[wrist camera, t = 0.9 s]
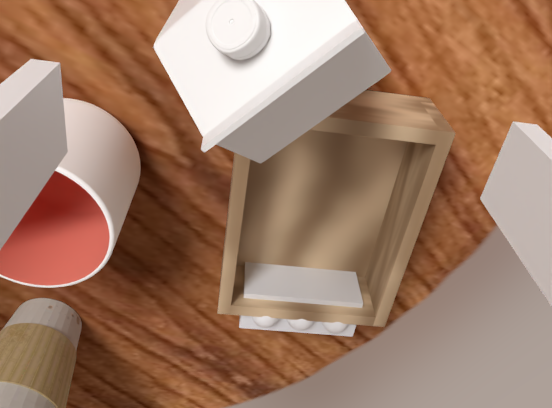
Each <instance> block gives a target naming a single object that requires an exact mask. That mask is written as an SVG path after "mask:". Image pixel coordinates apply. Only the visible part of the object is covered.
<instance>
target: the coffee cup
mask: <svg viewBox="0 0 552 408" xmlns="http://www.w3.org/2000/svg"><path fill="white" fill-rule="evenodd" d="M81 328H82V322H81V319H80V317H79V315H78V314H77V313H76V312H75V310H74V309H72V308H71V307H70V306H68V305H66V304H65V303H62V302H60V301H57V300H53V299H48V298H37V299H31V300H29V301H26V302H24V303H23V304H22V305H21V306H19V308H18V309H17V310H16V312H15V313H14V314H13V316H12V317H11V318H10V320H9V321H8V323H7V324H6V325H5V327H4V328H3V329H2V330H1V331H0V408H66V404H67V399H68V395H69V390H70V386H71V381H72V376H73V372H74V367H75V363H76V358H77V356H76V350H77V346H78V341H79V337H80V333H81Z"/></svg>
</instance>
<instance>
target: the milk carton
mask: <svg viewBox="0 0 552 408" xmlns="http://www.w3.org/2000/svg"><path fill="white" fill-rule="evenodd" d="M154 49H155V51H156V53H157V55H158V57H159V58H160V60H161V62H162V64H163V66H164V68H165V69H166V71H167V73H168V75H169V77H170V78H171V80H172V82H173V84H174V86H175V87H176V89H177V91H178V93H179V95H180V96H181V98H182V100H183V102H184V104H185V106H186V107H187V109H188V111H189V113H190V115H191V116H192V118H193V120H194V122H195V124H196V125H197V127H198V129H199V131H200V133H201V134H202V136H203V141H202V146H201V150H202V151H203V152H206V151H207V150H209V149H210V148H211V147H213V146H214V145H215V144H216V145H219V146H221V147H223V148H226V149H228V150H230V151H232V152H235V153H237V154H239V155H242V156H244V157H246V158H249V159H251V160H253V161H255V162H258V163H262V162H264V161H266V160H267V159H269V158H270V157H271V156H273V155H274V154H276V153H277V152H279V151H280V150H281V149H283V148H284V147H286V146H287V145H288V144H290V143H291V142H293V141H294V140H296V139H297V138H298V137H300V136H301V135H303V134H304V133H305V132H307V131H308V130H310V129H311V128H313V127H314V126H315V125H317V124H318V123H320V122H321V121H322V120H324V119H325V118H327V117H328V116H330V115H331V114H332V113H334V112H335V111H337V110H338V109H339V108H341V107H342V106H344V105H345V104H346V103H348V102H349V101H351V100H352V99H354V98H355V97H356V96H358V95H359V94H361V93H362V92H363V91H365V90H366V89H368V88H369V87H371V86H372V85H373V84H375V83H376V82H378V81H379V80H380V79H382V78H383V77H385V76H386V75H387V74H388V73H390V72H391V69H390V68H389V66H388V65H387V63H386V62H385V60H384V59H383V57H382V55H381V54H380V52H379V51H378V49H377V48H376V46H375V45H374V43H373V42H372V40H371V39H370V37H369V36H368V34H367V33H366V31H365V30H364V28H363V27H362V25H361V24H360V22H359V21H358V19H357V18H356V16H355V15H354V13H353V12H352V10H351V9H350V7H349V6H348V4H347V3H346V1H345V0H179V1H178V3H177V5H176V7H175V8H174V10H173V12H172V13H171V15H170V17H169V18H168V20H167V22H166V23H165V25H164V27H163V28H162V30H161V32H160V33H159V35H158V37H157V39H156V41H155V43H154Z"/></svg>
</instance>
